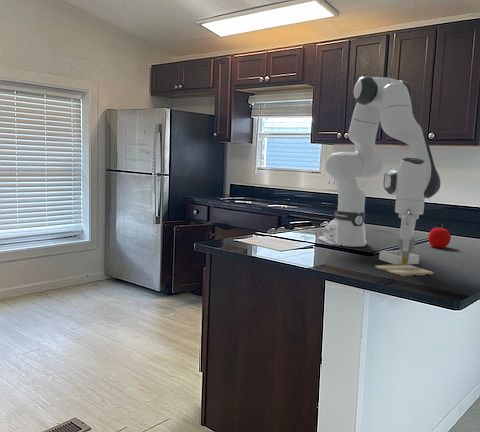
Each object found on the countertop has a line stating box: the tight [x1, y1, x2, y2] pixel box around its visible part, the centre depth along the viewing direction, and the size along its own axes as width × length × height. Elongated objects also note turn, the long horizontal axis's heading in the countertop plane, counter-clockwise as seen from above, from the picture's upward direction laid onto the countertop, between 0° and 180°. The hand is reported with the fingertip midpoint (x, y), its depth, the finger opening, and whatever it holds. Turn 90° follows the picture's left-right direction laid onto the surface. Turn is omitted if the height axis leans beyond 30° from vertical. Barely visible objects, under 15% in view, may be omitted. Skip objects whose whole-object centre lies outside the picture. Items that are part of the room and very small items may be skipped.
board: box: [374, 263, 435, 277], centre depth 159 cm, size 13×13×1 cm
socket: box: [378, 249, 420, 265], centre depth 173 cm, size 10×10×3 cm
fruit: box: [427, 224, 452, 249], centre depth 207 cm, size 9×9×10 cm
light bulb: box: [397, 235, 416, 264], centre depth 159 cm, size 6×6×10 cm
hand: (405, 249), depth 159 cm, fingers closed on light bulb, 5 cm apart
